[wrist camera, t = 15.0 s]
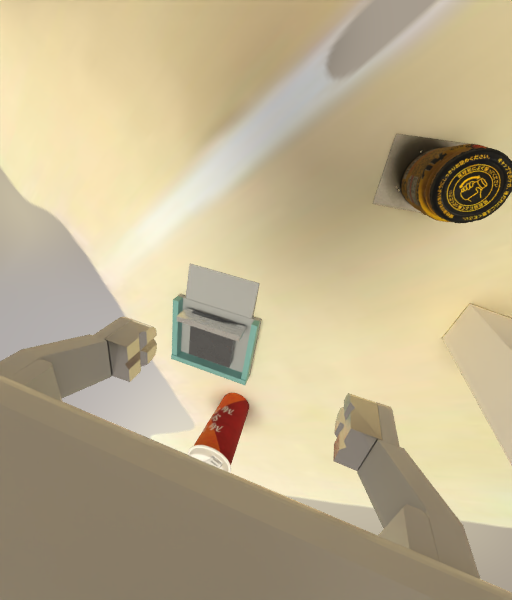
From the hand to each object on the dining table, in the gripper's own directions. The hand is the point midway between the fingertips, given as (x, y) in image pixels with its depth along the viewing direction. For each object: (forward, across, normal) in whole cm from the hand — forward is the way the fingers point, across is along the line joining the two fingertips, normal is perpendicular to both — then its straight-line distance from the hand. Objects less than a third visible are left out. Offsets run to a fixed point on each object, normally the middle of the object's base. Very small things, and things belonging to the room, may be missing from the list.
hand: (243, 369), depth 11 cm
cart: (+28, +12, +22) cm, 38 cm away
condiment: (+29, -10, -8) cm, 32 cm away
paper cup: (+29, +6, +38) cm, 48 cm away
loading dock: (+30, +12, +20) cm, 38 cm away
